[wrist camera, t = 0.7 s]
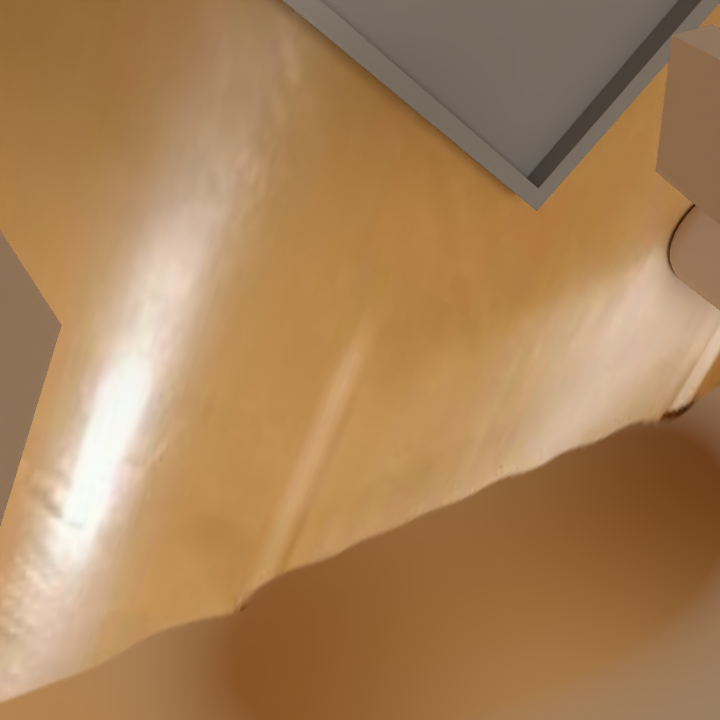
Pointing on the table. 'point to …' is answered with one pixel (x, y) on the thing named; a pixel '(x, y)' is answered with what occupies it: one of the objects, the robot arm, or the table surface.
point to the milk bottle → (698, 255)
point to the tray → (512, 70)
